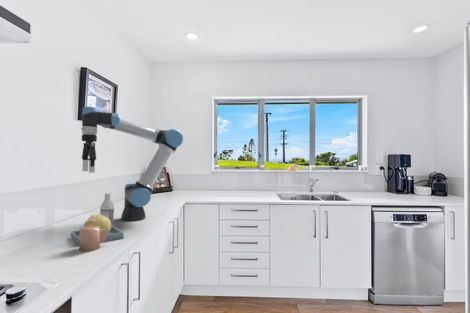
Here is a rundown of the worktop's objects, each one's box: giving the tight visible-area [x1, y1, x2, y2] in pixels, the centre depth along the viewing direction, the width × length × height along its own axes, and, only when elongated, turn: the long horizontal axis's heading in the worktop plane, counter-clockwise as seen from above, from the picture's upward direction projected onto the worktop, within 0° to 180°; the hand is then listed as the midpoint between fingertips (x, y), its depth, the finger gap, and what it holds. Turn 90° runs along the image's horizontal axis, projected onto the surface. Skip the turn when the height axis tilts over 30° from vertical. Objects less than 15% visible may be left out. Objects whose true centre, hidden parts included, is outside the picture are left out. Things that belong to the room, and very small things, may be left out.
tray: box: [70, 225, 125, 247], centre depth 136 cm, size 20×16×3 cm
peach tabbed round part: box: [78, 226, 107, 252], centre depth 122 cm, size 8×11×9 cm
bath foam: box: [99, 192, 115, 226], centre depth 154 cm, size 7×7×20 cm
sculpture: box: [84, 213, 111, 235], centre depth 137 cm, size 12×12×11 cm
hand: (88, 171), depth 155 cm, fingers open, 13 cm apart
